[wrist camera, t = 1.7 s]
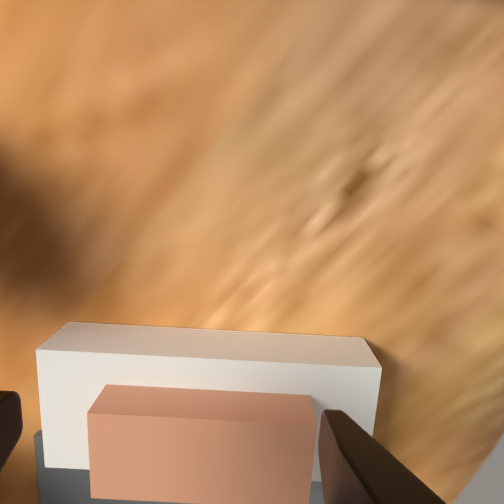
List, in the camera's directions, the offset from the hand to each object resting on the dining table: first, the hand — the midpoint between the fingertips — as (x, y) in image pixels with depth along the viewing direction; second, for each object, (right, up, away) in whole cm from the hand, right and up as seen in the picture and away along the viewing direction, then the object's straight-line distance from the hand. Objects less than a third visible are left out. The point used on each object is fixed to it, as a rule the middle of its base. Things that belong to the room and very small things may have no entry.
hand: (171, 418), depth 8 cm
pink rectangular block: (0, -4, +9) cm, 10 cm away
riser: (0, -3, +12) cm, 13 cm away
